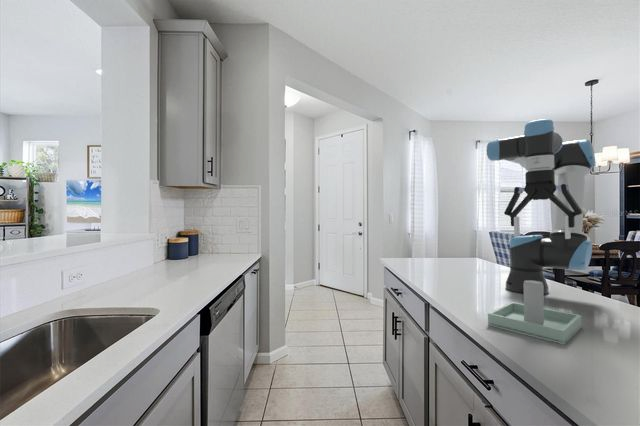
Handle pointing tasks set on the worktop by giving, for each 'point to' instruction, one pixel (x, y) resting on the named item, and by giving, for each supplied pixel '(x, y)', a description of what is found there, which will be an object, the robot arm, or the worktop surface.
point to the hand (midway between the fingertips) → (541, 237)
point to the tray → (553, 329)
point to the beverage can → (534, 302)
